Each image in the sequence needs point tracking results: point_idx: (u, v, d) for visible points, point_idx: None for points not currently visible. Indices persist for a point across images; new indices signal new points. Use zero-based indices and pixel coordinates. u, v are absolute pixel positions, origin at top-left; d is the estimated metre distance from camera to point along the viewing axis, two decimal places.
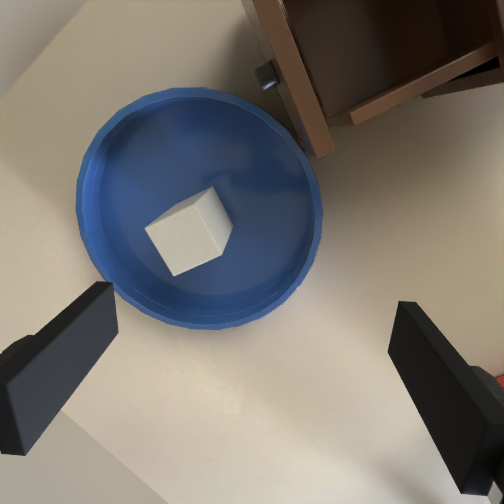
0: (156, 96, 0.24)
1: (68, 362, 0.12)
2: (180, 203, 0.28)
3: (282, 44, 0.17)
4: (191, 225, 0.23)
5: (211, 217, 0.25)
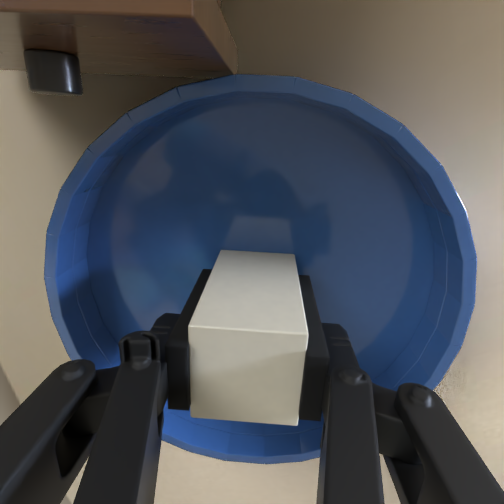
0: (49, 260, 0.16)
1: None
2: None
3: None
4: (224, 351, 0.11)
5: (242, 298, 0.13)
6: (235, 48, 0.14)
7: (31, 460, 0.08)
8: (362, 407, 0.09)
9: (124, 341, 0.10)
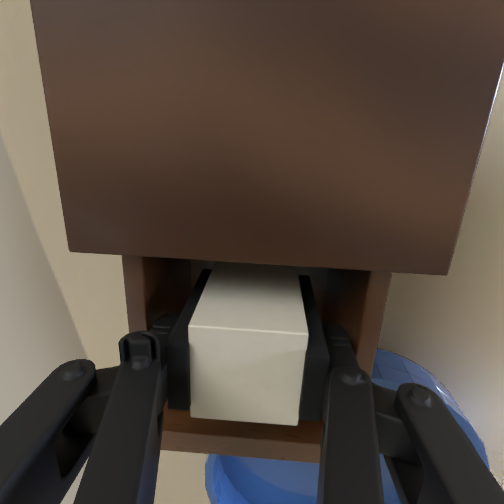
0: (211, 457, 0.24)
1: None
2: None
3: (236, 447, 0.15)
4: (224, 351, 0.11)
5: (242, 298, 0.13)
6: None
7: (31, 460, 0.08)
8: (362, 407, 0.09)
9: (124, 341, 0.10)
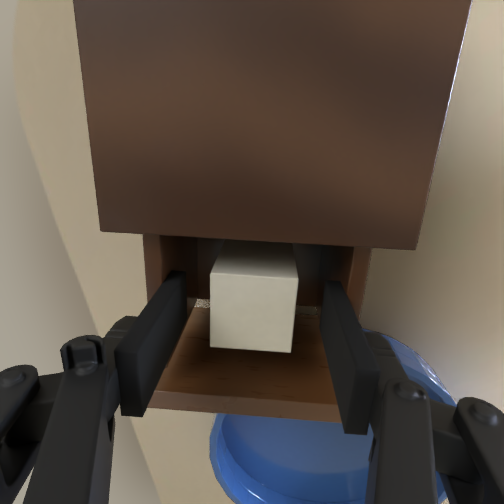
0: (215, 430, 0.26)
1: (163, 339, 0.14)
2: None
3: (239, 407, 0.17)
4: (236, 293, 0.15)
5: (249, 258, 0.17)
6: None
7: None
8: (418, 424, 0.09)
9: (66, 348, 0.10)
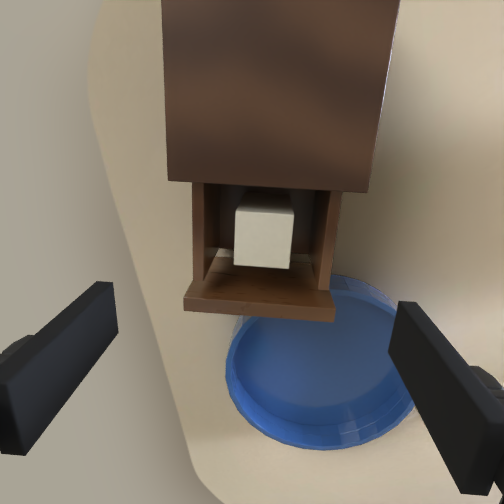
0: (230, 353, 0.34)
1: (68, 362, 0.12)
2: None
3: (253, 309, 0.25)
4: (252, 225, 0.23)
5: (260, 205, 0.25)
6: None
7: None
8: None
9: None
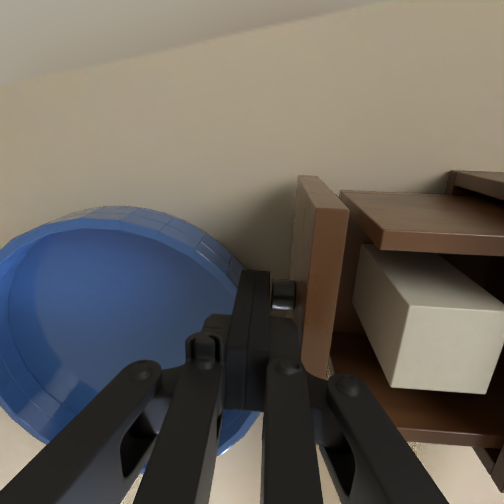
0: (135, 228, 0.19)
1: None
2: (391, 255, 0.18)
3: (316, 337, 0.13)
4: (481, 338, 0.13)
5: None
6: None
7: (97, 459, 0.08)
8: (297, 396, 0.09)
9: (190, 340, 0.11)
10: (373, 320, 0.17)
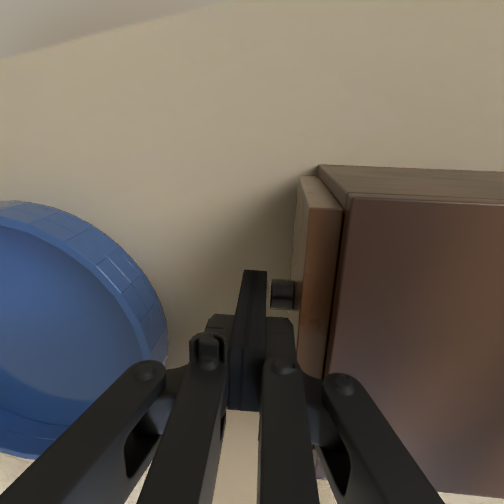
0: (5, 221, 0.20)
1: None
2: None
3: (312, 338, 0.13)
4: None
5: None
6: None
7: (101, 459, 0.08)
8: (293, 395, 0.09)
9: (194, 340, 0.11)
10: None
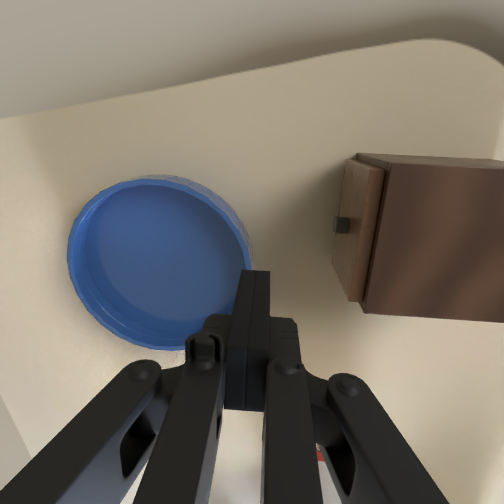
0: (173, 185, 0.33)
1: None
2: None
3: (366, 235, 0.27)
4: None
5: None
6: None
7: (97, 459, 0.08)
8: (297, 396, 0.09)
9: (190, 340, 0.11)
10: None
